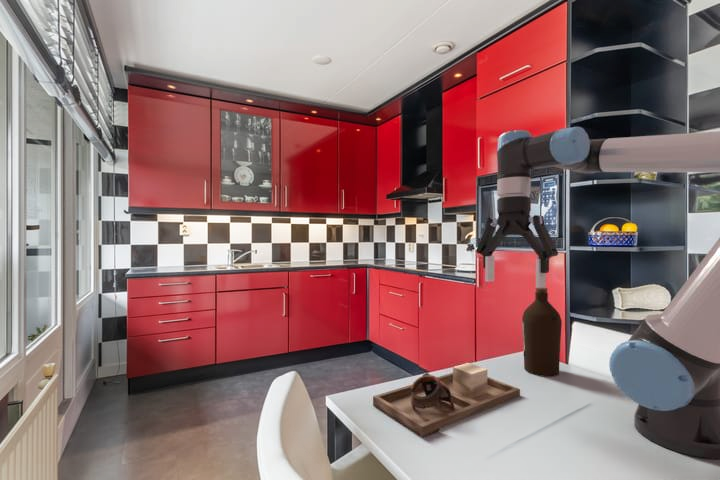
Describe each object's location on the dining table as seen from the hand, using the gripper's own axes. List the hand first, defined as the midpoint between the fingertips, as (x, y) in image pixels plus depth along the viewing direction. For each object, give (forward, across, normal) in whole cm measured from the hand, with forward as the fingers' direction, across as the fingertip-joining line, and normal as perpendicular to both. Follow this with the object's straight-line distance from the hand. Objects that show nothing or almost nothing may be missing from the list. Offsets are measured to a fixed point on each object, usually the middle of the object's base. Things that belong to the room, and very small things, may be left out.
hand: (513, 284), depth 88 cm
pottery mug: (+28, +8, +19) cm, 35 cm away
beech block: (+28, +9, +5) cm, 30 cm away
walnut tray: (+29, +9, +13) cm, 33 cm away
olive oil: (+29, +8, -26) cm, 40 cm away
